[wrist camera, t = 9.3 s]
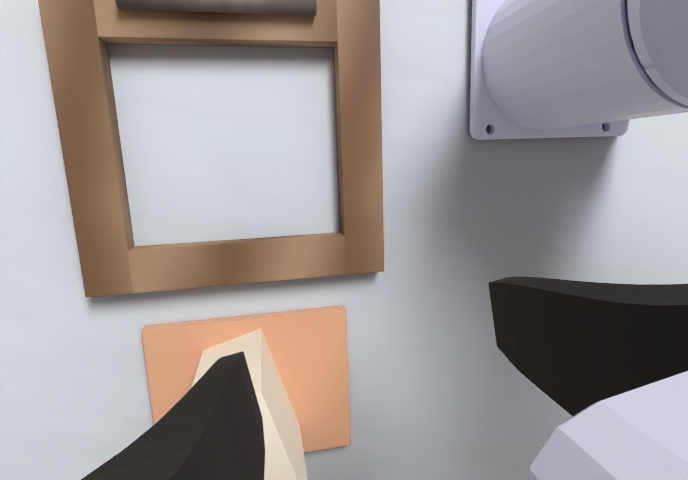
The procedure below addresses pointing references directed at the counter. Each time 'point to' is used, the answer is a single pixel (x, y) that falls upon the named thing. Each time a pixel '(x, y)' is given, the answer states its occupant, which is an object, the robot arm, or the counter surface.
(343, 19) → the wooden picture frame
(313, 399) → the peach rectangular tile
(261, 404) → the cream upright block
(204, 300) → the counter surface
